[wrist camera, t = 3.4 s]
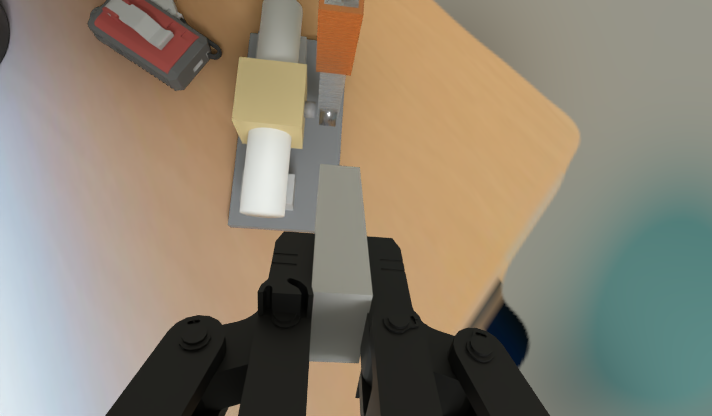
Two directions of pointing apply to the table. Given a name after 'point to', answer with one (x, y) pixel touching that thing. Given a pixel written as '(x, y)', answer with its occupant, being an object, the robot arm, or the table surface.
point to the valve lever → (335, 52)
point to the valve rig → (279, 126)
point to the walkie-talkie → (153, 38)
